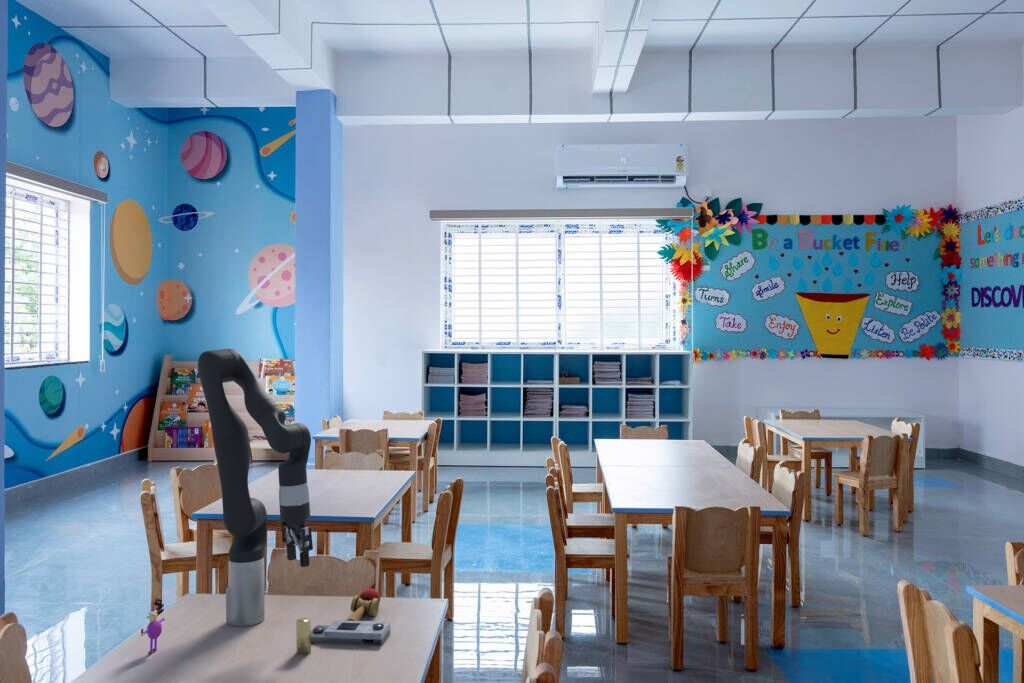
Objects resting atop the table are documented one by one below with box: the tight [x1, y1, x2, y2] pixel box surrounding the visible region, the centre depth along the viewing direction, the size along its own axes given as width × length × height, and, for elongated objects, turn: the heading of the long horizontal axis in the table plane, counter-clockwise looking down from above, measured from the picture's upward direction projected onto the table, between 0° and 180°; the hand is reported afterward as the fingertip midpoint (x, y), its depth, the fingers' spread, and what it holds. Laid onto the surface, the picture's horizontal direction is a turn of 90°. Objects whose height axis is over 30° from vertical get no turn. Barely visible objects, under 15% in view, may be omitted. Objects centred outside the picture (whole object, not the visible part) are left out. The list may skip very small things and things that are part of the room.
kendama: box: [347, 588, 381, 621], centre depth 214 cm, size 8×6×18 cm
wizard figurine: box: [140, 603, 166, 655], centre depth 190 cm, size 11×3×12 cm, turn 177°
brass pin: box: [295, 617, 312, 656], centre depth 190 cm, size 3×3×8 cm
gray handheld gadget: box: [311, 619, 391, 646], centre depth 199 cm, size 20×8×4 cm, turn 83°
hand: (298, 563), depth 200 cm, fingers open, 8 cm apart
